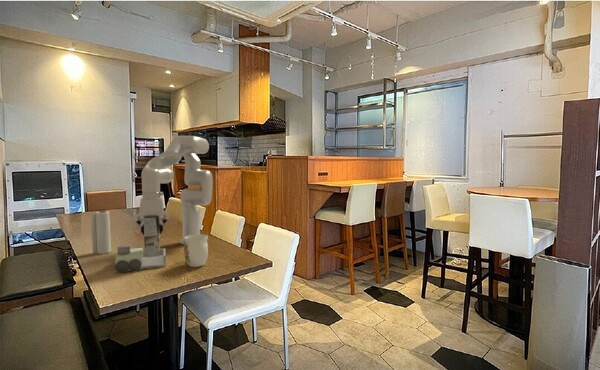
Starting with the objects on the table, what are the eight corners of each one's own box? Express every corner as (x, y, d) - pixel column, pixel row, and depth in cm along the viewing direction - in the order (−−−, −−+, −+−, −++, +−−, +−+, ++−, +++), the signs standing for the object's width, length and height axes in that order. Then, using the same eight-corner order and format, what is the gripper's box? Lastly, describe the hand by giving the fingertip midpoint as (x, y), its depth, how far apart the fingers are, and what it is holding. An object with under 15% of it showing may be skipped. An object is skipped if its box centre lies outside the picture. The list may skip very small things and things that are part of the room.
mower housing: (143, 258, 163) (143, 240, 162) (141, 270, 146) (140, 250, 145) (120, 261, 159) (119, 242, 158) (115, 273, 142) (114, 252, 141)
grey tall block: (113, 251, 174) (112, 211, 173) (104, 254, 169) (102, 213, 167) (102, 250, 176) (101, 210, 175) (92, 253, 171) (91, 212, 169)
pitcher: (200, 257, 166) (200, 230, 165) (214, 267, 151) (214, 237, 150) (178, 261, 159) (177, 233, 158) (190, 272, 145) (189, 241, 144)
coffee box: (159, 251, 152) (158, 216, 151) (144, 252, 150) (143, 217, 149) (160, 246, 161) (159, 213, 159) (145, 247, 158) (145, 214, 157)
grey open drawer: (165, 258, 164) (165, 248, 164) (165, 266, 152) (165, 255, 152) (143, 260, 160) (143, 250, 160) (141, 268, 148) (141, 257, 148)
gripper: (171, 194, 160) (172, 230, 161) (131, 195, 153) (132, 233, 155) (171, 195, 153) (172, 234, 154) (129, 196, 146) (130, 237, 148)
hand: (152, 233), depth 155 cm, fingers closed on coffee box, 6 cm apart
